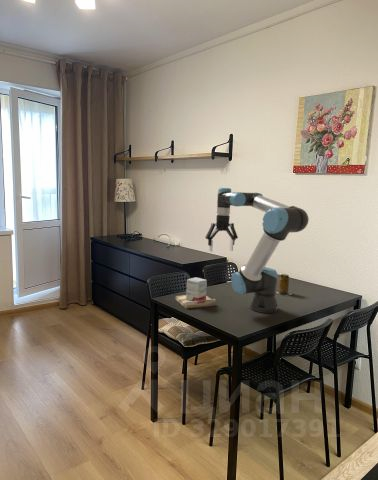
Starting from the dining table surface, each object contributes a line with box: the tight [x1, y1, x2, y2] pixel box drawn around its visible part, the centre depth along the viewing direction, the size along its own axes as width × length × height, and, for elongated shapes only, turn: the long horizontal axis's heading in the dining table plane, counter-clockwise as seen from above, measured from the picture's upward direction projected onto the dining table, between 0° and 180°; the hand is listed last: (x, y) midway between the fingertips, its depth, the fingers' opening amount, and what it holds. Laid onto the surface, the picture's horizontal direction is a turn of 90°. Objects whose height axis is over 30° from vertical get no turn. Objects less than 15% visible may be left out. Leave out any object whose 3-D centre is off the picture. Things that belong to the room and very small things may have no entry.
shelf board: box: [174, 294, 217, 309], centre depth 211 cm, size 16×18×3 cm
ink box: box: [185, 277, 208, 301], centre depth 210 cm, size 9×9×12 cm
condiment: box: [275, 273, 293, 297], centre depth 236 cm, size 7×8×12 cm
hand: (221, 250), depth 218 cm, fingers open, 13 cm apart
